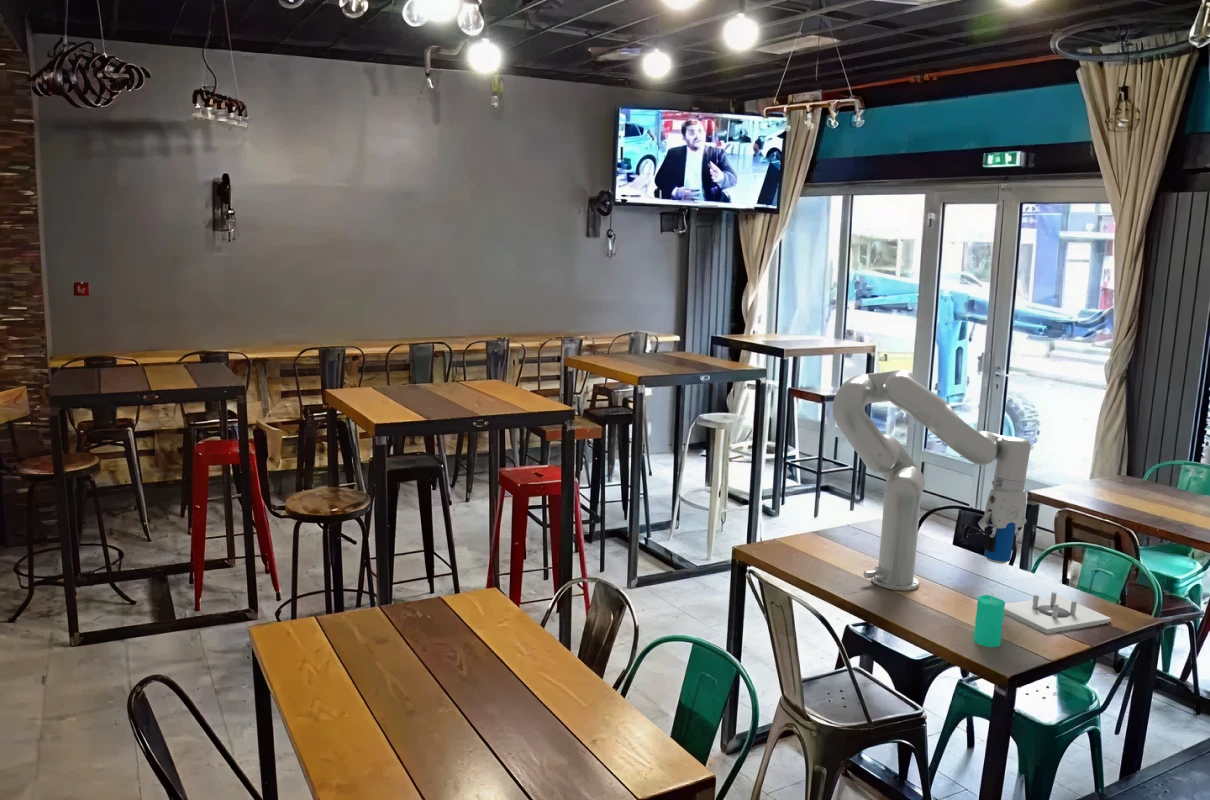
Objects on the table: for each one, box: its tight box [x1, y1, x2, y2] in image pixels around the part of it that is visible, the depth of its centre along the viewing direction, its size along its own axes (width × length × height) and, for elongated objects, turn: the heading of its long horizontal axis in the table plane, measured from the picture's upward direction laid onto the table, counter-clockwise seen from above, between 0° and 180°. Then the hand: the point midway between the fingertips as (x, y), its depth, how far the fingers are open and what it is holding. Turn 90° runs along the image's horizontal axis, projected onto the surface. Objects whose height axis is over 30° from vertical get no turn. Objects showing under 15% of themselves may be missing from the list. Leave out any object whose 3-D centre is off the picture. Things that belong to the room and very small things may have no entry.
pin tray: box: [1004, 591, 1112, 635], centre depth 241 cm, size 22×16×5 cm
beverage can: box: [983, 520, 1016, 565], centre depth 248 cm, size 6×6×12 cm
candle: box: [973, 594, 1006, 648], centre depth 223 cm, size 6×6×12 cm
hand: (998, 548), depth 249 cm, fingers closed on beverage can, 6 cm apart
